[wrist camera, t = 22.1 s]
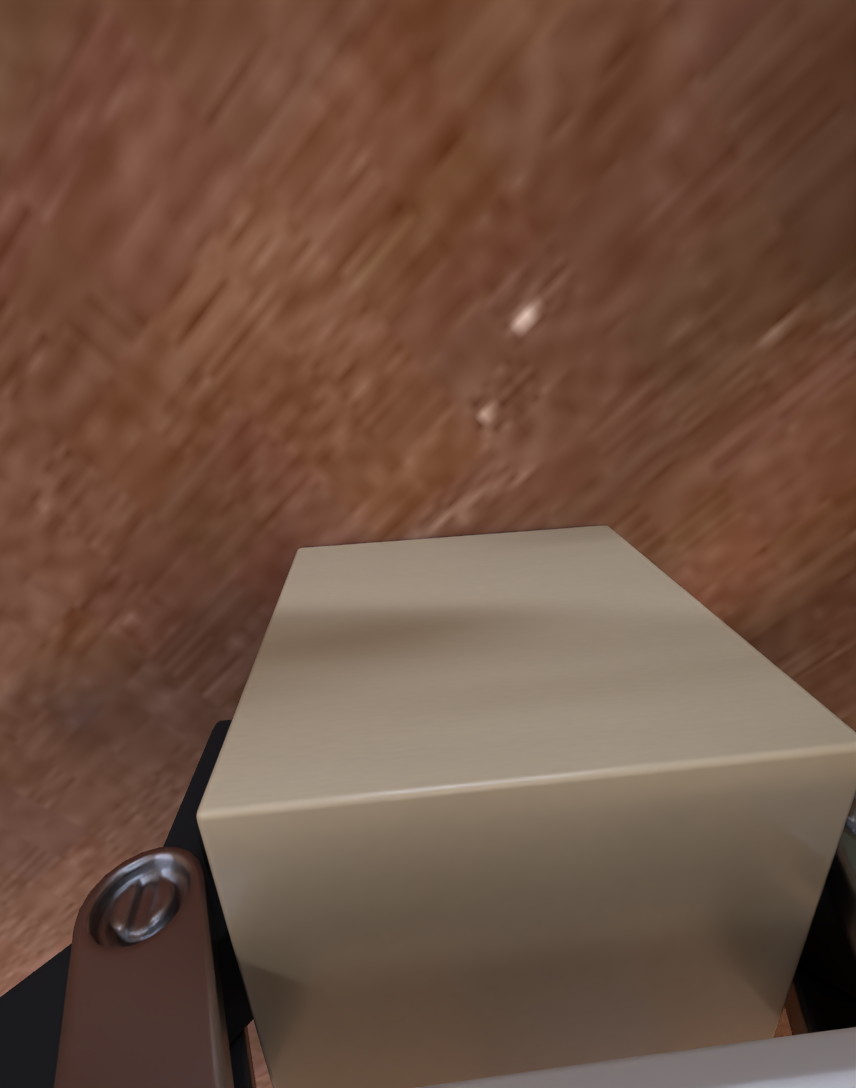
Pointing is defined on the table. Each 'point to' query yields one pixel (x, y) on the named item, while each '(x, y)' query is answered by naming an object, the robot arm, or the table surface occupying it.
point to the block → (514, 814)
